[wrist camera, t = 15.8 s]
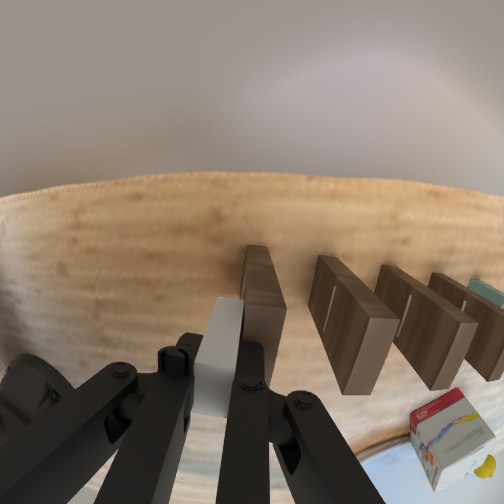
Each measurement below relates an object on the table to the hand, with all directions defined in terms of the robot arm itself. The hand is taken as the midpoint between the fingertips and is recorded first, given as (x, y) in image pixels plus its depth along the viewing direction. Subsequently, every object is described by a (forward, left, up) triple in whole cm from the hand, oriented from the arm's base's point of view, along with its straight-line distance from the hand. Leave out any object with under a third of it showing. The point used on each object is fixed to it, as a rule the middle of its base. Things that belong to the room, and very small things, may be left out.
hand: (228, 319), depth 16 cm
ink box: (+31, -19, -10) cm, 38 cm away
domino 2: (+8, 0, -10) cm, 13 cm away
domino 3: (+14, 0, -10) cm, 17 cm away
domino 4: (+21, 0, -10) cm, 23 cm away
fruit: (+59, -38, -10) cm, 71 cm away
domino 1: (+1, 0, -10) cm, 10 cm away
